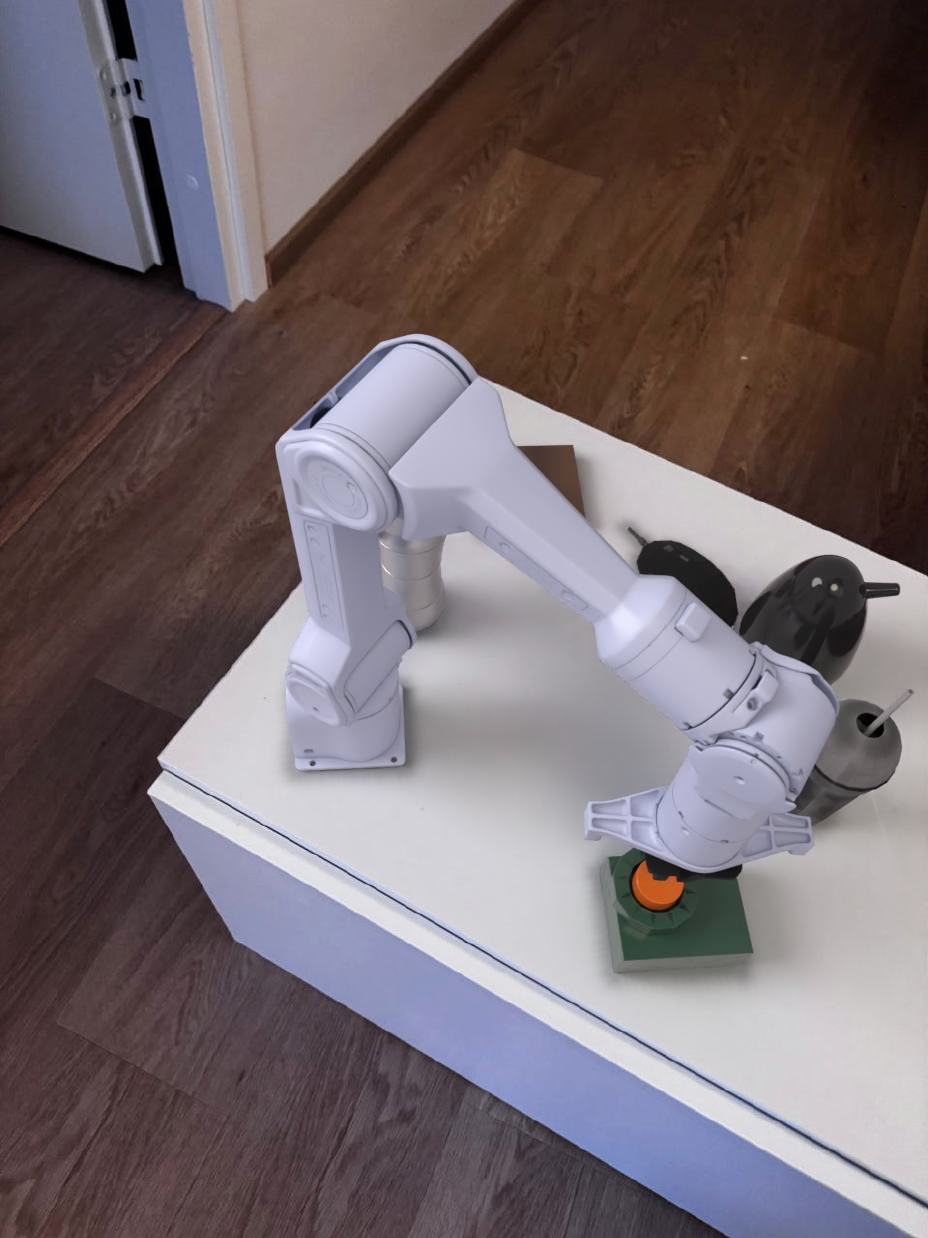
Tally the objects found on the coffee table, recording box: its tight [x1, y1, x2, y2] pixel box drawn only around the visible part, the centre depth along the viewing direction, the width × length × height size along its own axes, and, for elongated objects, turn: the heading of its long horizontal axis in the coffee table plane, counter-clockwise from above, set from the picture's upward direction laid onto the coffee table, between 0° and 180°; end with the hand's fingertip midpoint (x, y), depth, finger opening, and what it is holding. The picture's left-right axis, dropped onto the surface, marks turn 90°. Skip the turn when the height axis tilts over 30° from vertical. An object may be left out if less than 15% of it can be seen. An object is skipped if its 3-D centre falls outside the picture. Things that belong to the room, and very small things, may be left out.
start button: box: [632, 860, 684, 910], centre depth 73 cm, size 4×4×2 cm
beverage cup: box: [787, 687, 915, 827], centre depth 76 cm, size 7×7×20 cm
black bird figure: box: [738, 554, 901, 686], centre depth 85 cm, size 10×10×15 cm
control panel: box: [516, 444, 587, 520], centre depth 100 cm, size 11×12×2 cm
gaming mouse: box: [627, 526, 739, 628], centre depth 95 cm, size 6×15×4 cm, turn 34°
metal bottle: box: [378, 517, 448, 632], centre depth 85 cm, size 6×7×20 cm
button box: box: [599, 847, 754, 974], centre depth 76 cm, size 10×8×6 cm
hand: (668, 867), depth 70 cm, fingers closed
